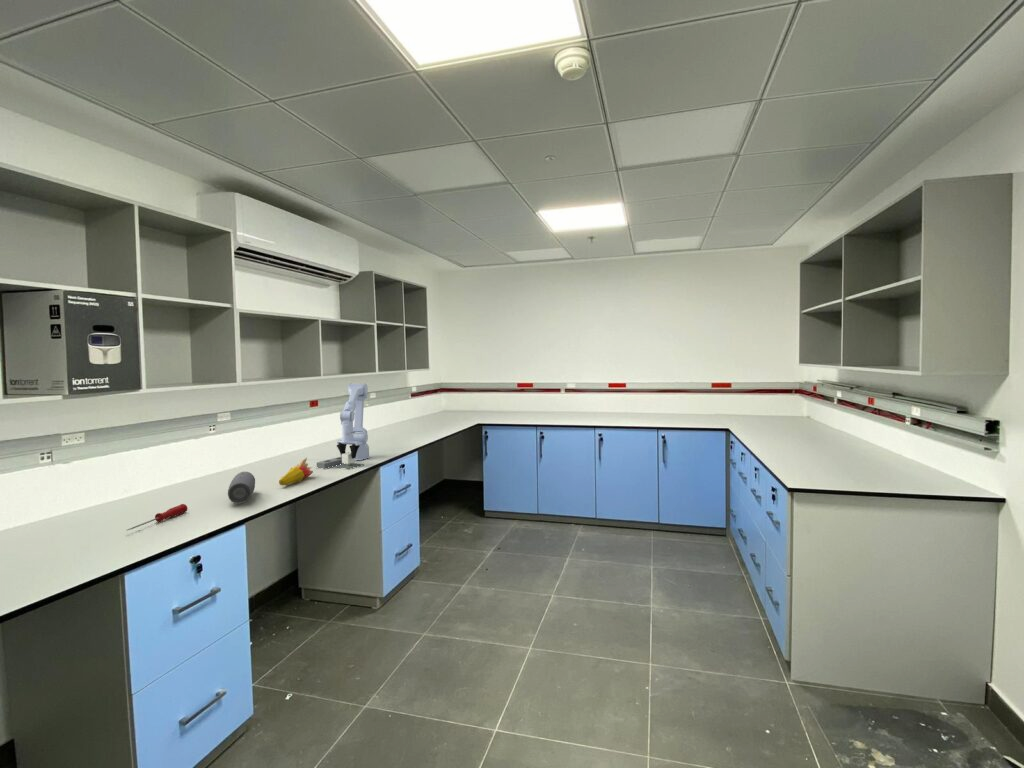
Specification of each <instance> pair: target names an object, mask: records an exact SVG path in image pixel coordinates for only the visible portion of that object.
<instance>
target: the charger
mask: <svg viewBox="0 0 1024 768" xmlns="http://www.w3.org/2000/svg"><path fill="white" fill-rule="evenodd" d="M355 462H356V460H355V458H353V459H352V456H351V451H349V452H345V453H344V454H342V463H345V464H346V466H349V465H351V463H355Z"/></svg>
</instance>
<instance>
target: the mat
mask: <svg viewBox="0 0 1024 768" xmlns="http://www.w3.org/2000/svg"><path fill="white" fill-rule="evenodd" d="M361 465H363V466H364V464H363V463H355V462H353V463H351V465H349V466H346V464H341V465H337V466H333V467H337V468H336V469H341V468H347V469H346V470H351V469H350V468H352V469H354V468H353V467H356V468H358V467H357V466H359V467H362V466H361ZM333 467H332V468H333Z"/></svg>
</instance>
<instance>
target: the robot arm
mask: <svg viewBox="0 0 1024 768" xmlns="http://www.w3.org/2000/svg"><path fill="white" fill-rule="evenodd" d="M347 390H348V394H349V397H348V401H347V400H346V402H345V405H344V407H343V410H342V411H340V414H339V418H340V419H339V420H340V425H341V437H342V438H341V439H337V440H336V444H337V445H336V448H337V450H338V452H339V454H340V457H342V454H344V453H346V448H347V445H349V449H350V453H351V456H352V459H353V458H355V461H357V460H360V461H364V460H368V459H371V457H370V446H369V444H368V439H369V436H368V435H369V434H368V430H367V429H366V428H365V427H364V407H365V405H364V404H365V399H367V398H368V384H367V383H352V382H351V383H349V384H348V386H347ZM367 458H368V459H367ZM363 459H364V460H363Z"/></svg>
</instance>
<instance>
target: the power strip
mask: <svg viewBox="0 0 1024 768" xmlns="http://www.w3.org/2000/svg"><path fill="white" fill-rule="evenodd" d="M340 464H344V463H342V457H341V456H337V457H334V458H329V459H326V460H322V461H317V462H316V468H317V467H318V468H317V469H321V468H327V469H329V468H328V467H331V468H333V467H332V466H336V465H340Z"/></svg>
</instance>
